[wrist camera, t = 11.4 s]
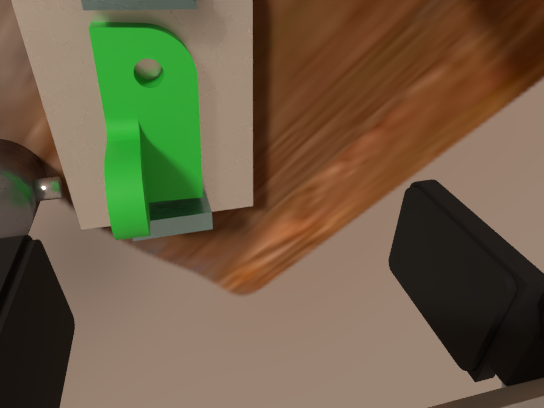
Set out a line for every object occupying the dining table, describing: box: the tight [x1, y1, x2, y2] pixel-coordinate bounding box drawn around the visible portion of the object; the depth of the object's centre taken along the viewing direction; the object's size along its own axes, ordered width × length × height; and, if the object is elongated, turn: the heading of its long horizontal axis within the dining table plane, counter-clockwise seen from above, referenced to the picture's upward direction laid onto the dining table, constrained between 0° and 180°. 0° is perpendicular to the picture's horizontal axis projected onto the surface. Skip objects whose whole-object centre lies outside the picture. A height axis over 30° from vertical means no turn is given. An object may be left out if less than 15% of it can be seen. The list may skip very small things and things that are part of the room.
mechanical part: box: [89, 22, 203, 240], centre depth 24 cm, size 12×6×8 cm, turn 177°
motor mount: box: [0, 0, 253, 241], centre depth 27 cm, size 22×18×6 cm
